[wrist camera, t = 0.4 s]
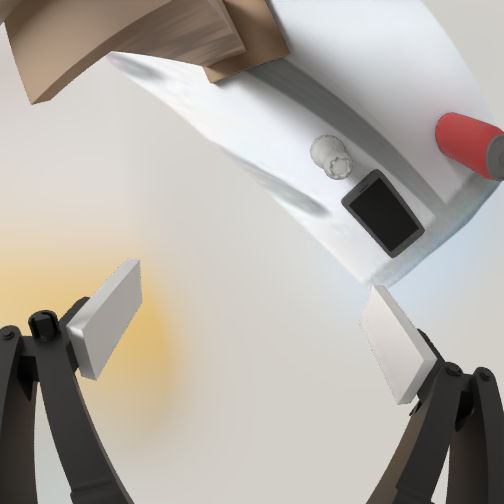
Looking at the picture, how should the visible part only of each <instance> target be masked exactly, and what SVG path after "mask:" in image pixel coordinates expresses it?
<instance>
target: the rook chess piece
mask: <svg viewBox="0 0 504 504" xmlns="http://www.w3.org/2000/svg"><path fill="white" fill-rule="evenodd" d="M310 153H311V158H312V159H313V161H314V162H315V164H316V165H318V166H319V167H321V168H323V169H324V171H325V173H326V175H327V176H329V177H330V178H331V179H335V180H340V179H344V178H346V177H348V175H349V174H350V173H351V171H352V167H353V164H352V160H351V158H350V156H349V155H348V154H346V153H345V148H344V146H343V144H342V143H341V141H340V140H339V139H337V138H336V137H335V136H331V135H324V136H320V137H319V138H317V139H315V141H314V142H313V143H312V145H311V149H310Z"/></svg>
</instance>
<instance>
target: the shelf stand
mask: <svg viewBox="0 0 504 504" xmlns="http://www.w3.org/2000/svg"><path fill="white" fill-rule="evenodd" d="M4 23H5V27H6V30H7V34H8V38H9V42H10V45H11V49H12V52H13V55H14V59H15V62H16V65H17V68H18V71H19V74H20V77H21V80H22V82H23V85H24V88H25V91H26V93H27V96H28V98H29V101H30V104H31V105H33V104H37V103H40V102H45V101H49V100H51V99H52V98H53V97H54V96H55V95H56V94H58V92H60V91H61V90H62V89H63V88H64V87H65V86H67V85H68V84H69V83H70V82H71V81H73V79H75V78H76V77H77V76H78V75H80V74H81V73H82V72H84V71H85V70H86V69H87V68H89V67H90V66H91V65H93V64H94V63H95V62H97V61H98V60H99V59H101V58H102V57H103V56H105V55H106V54H108V53H109V52H111V51H117V52H126V53H134V54H141V55H148V56H154V57H160V58H165V59H171V60H176V61H181V62H186V63H190V64H195V65H199V66H202V67H203V69H204V71H205V73H206V75H207V78H208V80H209V82H210V83H214V82H217V81H219V80H221V79H224V78H226V77H229V76H231V75H234V74H236V73H239V72H241V71H244V70H247V69H249V68H252V67H255V66H258V65H260V64H263V63H266V62H269V61H272V60H275V59H278V58H281V57H285V56H288V55H290V52H289V50H288V48H287V46H286V43H285V41H284V39H283V37H282V35H281V32H280V30H279V28H278V26H277V24H276V22H275V20H274V18H273V16H272V14H271V12H270V10H269V8H268V6H267V4H266V2H265V0H22V1H21V2H20V3H19V5H18V6H17V7H16V8H15V9H14V10H13V11H12V12H11V13H10V15H9V16H8V17H7V18H6V19H5V20H4Z"/></svg>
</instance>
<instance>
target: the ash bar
mask: <svg viewBox="0 0 504 504" xmlns="http://www.w3.org/2000/svg"><path fill="white" fill-rule="evenodd" d="M21 1H22V0H0V25H1V24H2V23H3V22H4V20H5V19H6V18H7V17H8V16H9V15H10V13H11V12H12V11H13V10H14V9H15V8H16V7H17V6H18V5H19V3H20V2H21Z"/></svg>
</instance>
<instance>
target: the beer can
mask: <svg viewBox="0 0 504 504" xmlns="http://www.w3.org/2000/svg"><path fill="white" fill-rule="evenodd" d="M435 136H436V142H437V144H438V146H439V148H440V150H441V151H442V152H443V153H444V154H446V155H448V156H449V157H451V158H453V159H455V160H456V161H458V162H460V163H462V164H463V165H465V166H467V167H468V168H470V169H471V170H473V171H475V172H476V173H478V174H479V175H481V176H483V177H484V178H488V179H493V180H496V181H503V180H504V132H503V131H502V130H501V129H499V128H498V127H496V126H493V125H491V124H488V123H485V122H482V121H479V120H476V119H473V118H470V117H467V116H464V115H461V114H457V113H453V112H452V113H447V114H445V115H444V116H442V117H441V119H440V120H439V121H438V123H437V126H436V132H435Z"/></svg>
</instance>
